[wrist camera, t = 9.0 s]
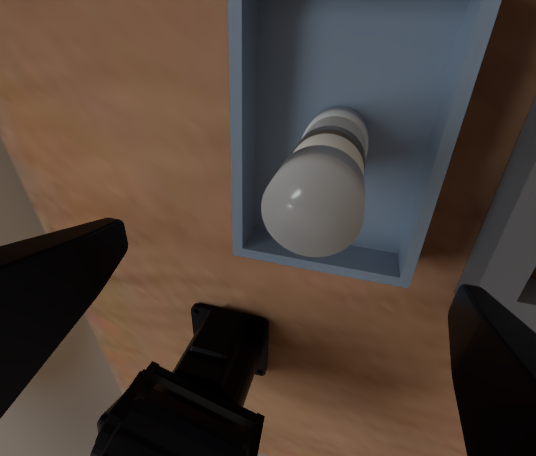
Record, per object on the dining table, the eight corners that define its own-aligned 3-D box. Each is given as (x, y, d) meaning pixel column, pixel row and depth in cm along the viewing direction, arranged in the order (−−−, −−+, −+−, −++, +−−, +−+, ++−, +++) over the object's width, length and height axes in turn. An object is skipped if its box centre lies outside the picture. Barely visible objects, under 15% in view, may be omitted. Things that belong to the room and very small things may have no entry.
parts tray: (405, 257, 21) (408, 288, 19) (248, 230, 23) (232, 255, 21) (488, -26, 14) (513, -37, 12) (250, -28, 16) (227, -39, 14)
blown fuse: (362, 169, 19) (354, 265, 11) (304, 162, 19) (260, 248, 12) (374, 108, 17) (373, 172, 10) (310, 102, 18) (262, 158, 10)
